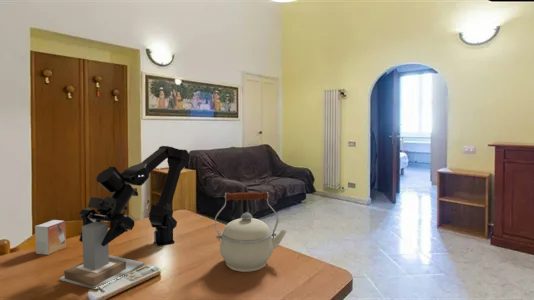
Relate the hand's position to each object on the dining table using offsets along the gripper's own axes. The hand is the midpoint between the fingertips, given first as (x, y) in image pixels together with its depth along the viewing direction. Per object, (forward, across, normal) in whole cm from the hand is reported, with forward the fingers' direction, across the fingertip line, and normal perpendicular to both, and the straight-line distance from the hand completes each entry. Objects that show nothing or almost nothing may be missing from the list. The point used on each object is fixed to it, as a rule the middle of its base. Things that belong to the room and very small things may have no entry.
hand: (91, 243), depth 97 cm
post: (+4, 0, +6) cm, 8 cm away
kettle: (-12, +41, +29) cm, 51 cm away
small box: (+1, -33, +15) cm, 36 cm away
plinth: (+5, 0, +11) cm, 12 cm away
